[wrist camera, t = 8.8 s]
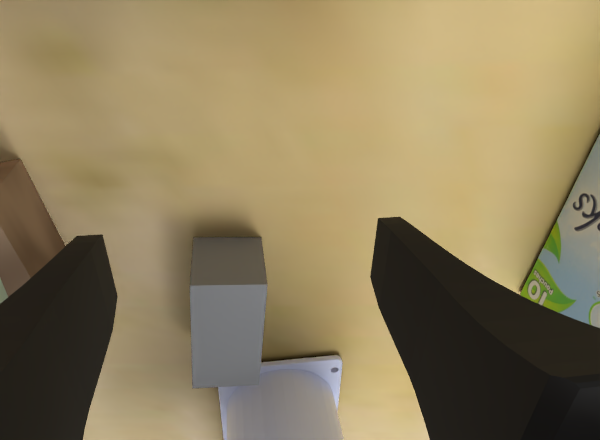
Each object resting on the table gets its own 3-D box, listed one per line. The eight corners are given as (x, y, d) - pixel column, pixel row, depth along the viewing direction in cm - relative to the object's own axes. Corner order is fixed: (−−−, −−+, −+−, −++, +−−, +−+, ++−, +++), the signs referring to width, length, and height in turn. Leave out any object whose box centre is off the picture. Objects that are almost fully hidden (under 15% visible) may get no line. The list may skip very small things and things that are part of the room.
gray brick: (254, 330, 29) (259, 384, 26) (195, 332, 28) (192, 388, 25) (261, 235, 25) (267, 284, 22) (193, 235, 25) (189, 285, 21)
